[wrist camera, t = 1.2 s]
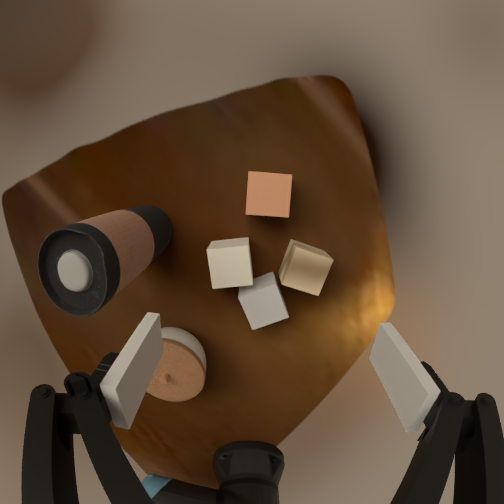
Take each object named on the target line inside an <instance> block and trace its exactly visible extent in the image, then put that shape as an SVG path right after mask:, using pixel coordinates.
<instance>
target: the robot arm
mask: <svg viewBox="0 0 504 504" xmlns="http://www.w3.org/2000/svg"><path fill="white" fill-rule="evenodd" d="M163 352H164V350H163V342H162V333H161V324H160V314H158V313H149V312H147V314H146V315H145V317H144V318H143V319H142V321H141V322H140V324H139V325H138V327H137V328H136V330H135V331H134V333H133V334H132V336H131V337H130V339H129V340H128V342H127V343H126V345H125V346H124V348H123V349H122V351H121V352H120V354H119V353H113V352H111V353H109V354H108V355H106V356H105V357H104V358H103V359H102V361H101V362H100V364H99V365H98V366H97V368H96V369H95V371H94V372H93V373H92V375H91V376H89V375H88V374H87V373H85V372H74V373H71V374H69V375H68V376H67V377H66V378H65V380H64V386H65V388H66V391H67V393H56V392H55V390H54V388H53V387H52V386H50V385H47V384H42V385H39V386H36V387H35V388H34V389H33V390H32V392H31V396H30V402H29V408H28V414H27V420H26V428H25V437H24V446H23V447H24V448H23V459H22V504H79V500H78V493H77V485H76V476H75V465H74V448H73V434H81V436H82V438H83V441H84V444H85V446H86V449H87V451H88V454H89V457H90V459H91V461H92V464H93V466H94V468H95V471H96V473H97V475H98V477H99V480H100V482H101V484H102V486H103V488H104V490H105V492H106V494H107V496H108V498H109V500H110V502H111V504H279V495H278V484H279V481H280V478H281V475H282V472H283V469H284V456H283V453H282V452H281V451H280V450H279V449H278V448H277V447H275V446H273V445H270V444H267V443H264V442H258V441H239V442H233V443H229V444H226V445H224V446H222V447H220V448H219V449H218V450H217V451H216V452H215V454H214V458H213V468H214V471H215V474H216V477H217V480H218V483H219V490H217V489H213V488H208V487H203V486H199V485H194V484H190V483H187V482H183V481H179V480H176V479H174V478H168V477H164V476H160V475H156V474H151V475H148V476H146V477H145V478H144V480H143V481H142V483H141V482H140V480H139V478H138V477H137V476H136V473H135V472H134V470H133V469H132V467H131V465H130V463H129V461H128V459H127V458H126V456H125V454H124V452H123V450H122V448H121V446H120V444H119V442H118V440H117V438H116V436H115V434H114V432H113V430H112V428H111V426H110V424H109V423H110V421H111V419H112V421H113V423H114V426H117V427H120V428H124V429H128V430H129V429H130V427H131V425H132V422H133V420H134V417H135V415H136V413H137V410H138V408H139V406H140V404H141V401H142V399H143V397H144V394H145V392H146V390H147V388H148V385H149V383H150V381H151V379H152V376H153V374H154V372H155V370H156V367H157V365H158V363H159V361H160V359H161V356H162V354H163ZM369 360H370V362H371V363H372V365H373V367H374V369H375V371H376V373H377V375H378V377H379V379H380V381H381V383H382V384H383V387H384V389H385V390H386V392H387V394H388V396H389V398H390V400H391V402H392V404H393V406H394V409H395V410H396V413H397V415H398V417H399V419H400V421H401V423H402V425H403V427H404V429H405V431H406V432H411V431H416V430H418V429H419V428H420V427H421V425H422V423H423V422H424V424H425V426H426V428H425V429H424V431H423V433H422V434H421V436H420V437H419V439H418V441H419V440H420V441H419V444H418V446H417V449H416V451H415V454H414V456H413V458H412V461H411V463H410V465H409V467H408V469H407V472H406V474H405V476H404V478H403V480H402V482H401V484H400V486H399V488H398V490H397V492H396V494H395V496H394V498H393V500H392V501H391V503H390V504H439V501H440V499H441V496H442V493H443V491H444V488H445V485H446V482H447V479H448V475H449V472H450V469H451V465H452V462H453V459H454V455H455V483H454V499H453V504H504V438H503V433H502V428H501V423H500V419H499V414H498V410H497V406H496V402H495V400H494V398H493V397H492V396H491V395H489V394H487V393H480V394H478V396H477V397H476V399H475V400H471V401H470V400H464V398H463V397H462V396H461V395H460V394H457V393H454V392H449V391H448V389H447V388H446V386H445V385H444V384H443V382H442V381H441V379H440V378H438V375H437V374H436V373H435V371H434V370H433V369H432V367H431V366H430V365H428V364H427V363H426V362H424V361H423V362H420V361H419V360H418V359H417V357H416V356H415V354H414V353H413V352H412V350H411V349H410V348H409V346H408V345H407V344H406V342H405V341H404V340H403V338H402V337H401V336H400V334H399V333H398V332H397V331H396V329H395V328H394V327H393V326H392V324H391V323H380V324H379V327H378V331H377V335H376V338H375V342H374V345H373V348H372V352H371V355H370V358H369Z"/></svg>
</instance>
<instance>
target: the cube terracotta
mask: <svg viewBox="0 0 504 504" xmlns="http://www.w3.org/2000/svg"><path fill="white" fill-rule="evenodd" d="M291 184H292V175H289V174H278V173H265V172H250V171H249V173H248V188H247V203H246V215H261V216H275V217H288V218H289V209H290V197H291Z"/></svg>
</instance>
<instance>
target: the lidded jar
mask: <svg viewBox="0 0 504 504" xmlns="http://www.w3.org/2000/svg"><path fill="white" fill-rule="evenodd" d="M161 333H162V342H163V350H164V352H163V354H162V356H161V359H160V361H159V363H158V365H157V367H156V370H155V372H154V374H153V376H152V379H151V381H150V383H149V385H148V388H147V390H146V391H147V392H148V393H150V394H151V395H153V396H155V397H157V398H160V399H163V400H167V401H185V400H189V399H191V398H193V397H195V396H196V395H198V394H199V393H200V391H201V390H202V389H203V386H204V383H205V377H206V376H205V374H206V356H205V352H204V350H203V347H202V345H201V344H200V342H199V341H198V340H197V339H196V338H195V337H194V336H193V335H192V334H190V333H189V332H187V331H185V330H183V329H180V328H176V327H164V328H161Z"/></svg>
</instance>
